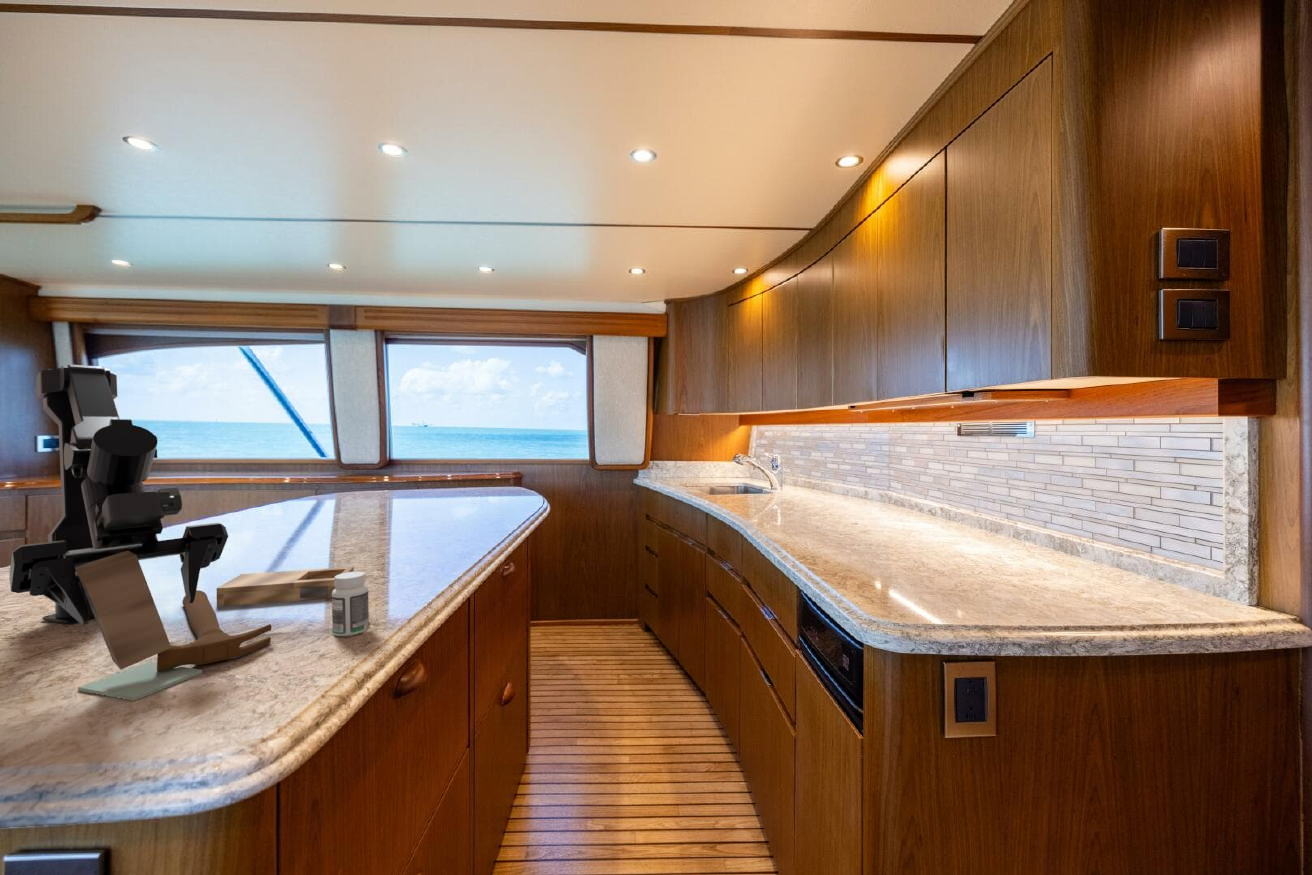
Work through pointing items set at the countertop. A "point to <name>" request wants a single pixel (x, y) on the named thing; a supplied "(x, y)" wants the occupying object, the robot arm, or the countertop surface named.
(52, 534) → the robot arm
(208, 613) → the hammer
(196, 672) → the rubber mat
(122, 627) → the brown wooden block
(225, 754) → the countertop surface
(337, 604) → the pill bottle
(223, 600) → the slotted wooden slab
